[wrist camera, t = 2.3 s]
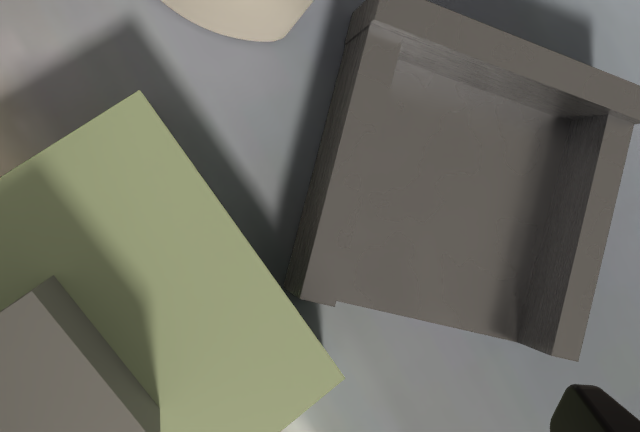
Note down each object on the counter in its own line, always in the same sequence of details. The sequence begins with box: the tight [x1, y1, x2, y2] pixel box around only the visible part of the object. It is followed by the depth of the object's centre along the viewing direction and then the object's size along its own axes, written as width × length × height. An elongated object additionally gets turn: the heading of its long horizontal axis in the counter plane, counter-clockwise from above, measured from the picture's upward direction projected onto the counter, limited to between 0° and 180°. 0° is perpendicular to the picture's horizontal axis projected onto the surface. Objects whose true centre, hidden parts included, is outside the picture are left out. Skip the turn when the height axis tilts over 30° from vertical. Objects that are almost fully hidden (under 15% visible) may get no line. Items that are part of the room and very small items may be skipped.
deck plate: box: [0, 90, 345, 432], centre depth 16 cm, size 13×11×6 cm
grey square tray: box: [283, 0, 640, 362], centre depth 21 cm, size 10×11×3 cm
